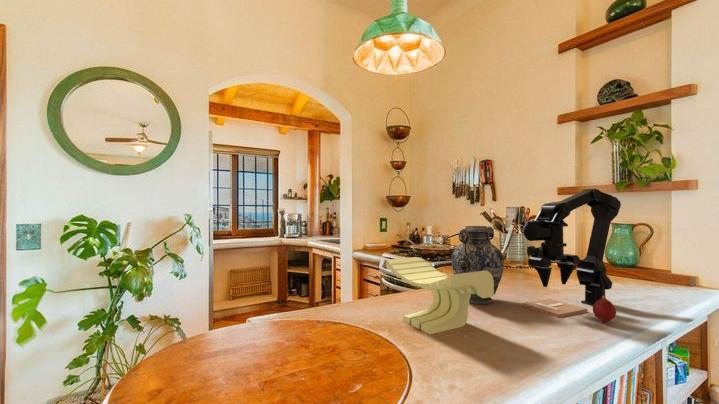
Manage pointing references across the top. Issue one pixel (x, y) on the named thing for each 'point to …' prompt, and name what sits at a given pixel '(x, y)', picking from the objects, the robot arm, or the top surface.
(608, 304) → the onion
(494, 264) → the decorative vase
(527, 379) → the top surface
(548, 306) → the letter tile
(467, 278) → the slatted curved stool
